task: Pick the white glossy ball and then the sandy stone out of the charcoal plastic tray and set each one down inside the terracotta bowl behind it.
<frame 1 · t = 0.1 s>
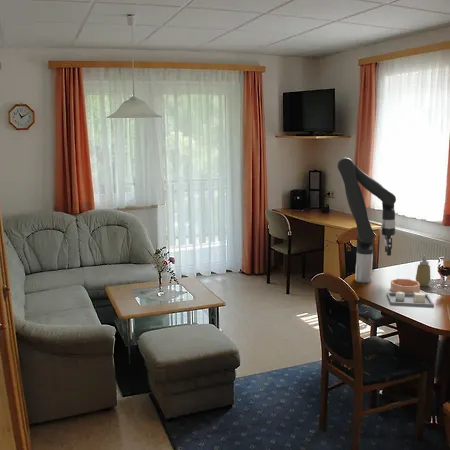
hand: (387, 253, 299), 17 cm above the table, tool pointing down, fingers open, 8 cm apart
squeeze bottle: (422, 285, 295), on the table
bowl: (404, 291, 284), on the table
sandy stone: (419, 301, 266), point 1 cm above the table, touching parts tray
parts tray: (409, 301, 267), on the table
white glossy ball: (399, 300, 268), point 1 cm above the table, touching parts tray
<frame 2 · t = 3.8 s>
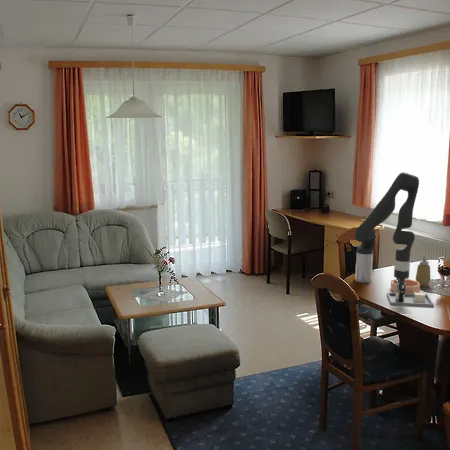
hand: (400, 299, 268), 1 cm above the table, tool pointing down, fingers closed on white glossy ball, 4 cm apart
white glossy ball: (399, 300, 268), point 1 cm above the table, touching gripper, parts tray
everything else where it was.
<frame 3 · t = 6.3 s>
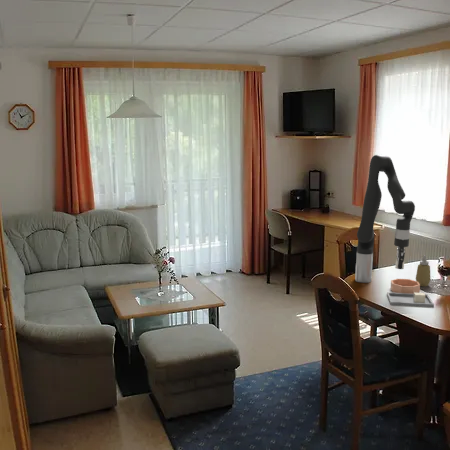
hand: (399, 267, 278), 15 cm above the table, tool pointing down, fingers closed on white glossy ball, 4 cm apart
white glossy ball: (399, 268, 278), point 14 cm above the table, touching gripper
everything else where it was.
when the fingers open (3 cm above the table, at t = 9.0 s): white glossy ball drops 2 cm, resting on bowl.
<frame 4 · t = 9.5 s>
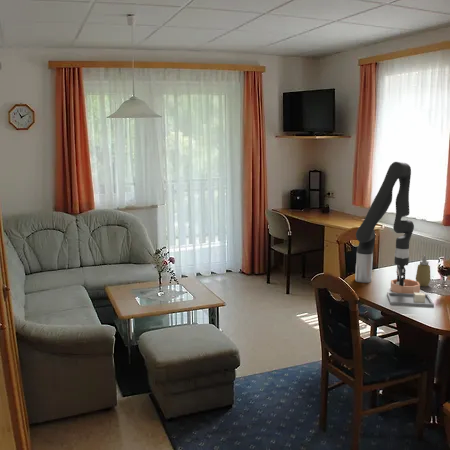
hand: (400, 283, 284), 4 cm above the table, tool pointing down, fingers open, 8 cm apart
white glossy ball: (399, 289, 285), point 1 cm above the table, touching bowl
everything else where it was.
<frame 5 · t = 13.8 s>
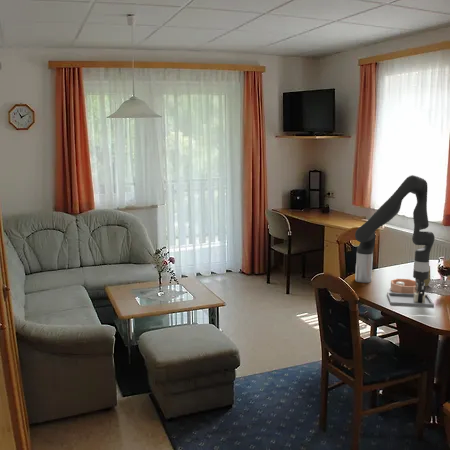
hand: (419, 300, 266), 1 cm above the table, tool pointing down, fingers closed on sandy stone, 4 cm apart
sandy stone: (419, 301, 266), point 1 cm above the table, touching gripper, parts tray
everything else where it was.
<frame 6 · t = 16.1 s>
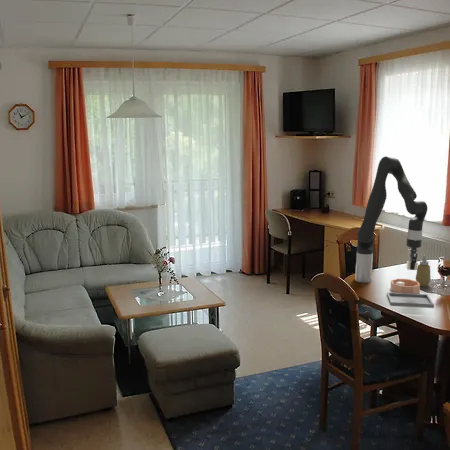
hand: (411, 268, 277), 15 cm above the table, tool pointing down, fingers closed on sandy stone, 4 cm apart
sandy stone: (411, 268, 277), point 14 cm above the table, touching gripper
everything else where it was.
when the fingers open (3 cm above the table, at t = 18.7 s): sandy stone drops 2 cm, resting on bowl.
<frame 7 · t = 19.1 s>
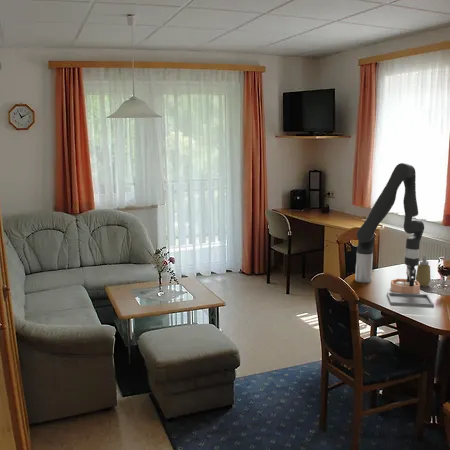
hand: (410, 284, 283), 4 cm above the table, tool pointing down, fingers open, 7 cm apart
sandy stone: (410, 290, 284), point 1 cm above the table, touching bowl
everything else where it was.
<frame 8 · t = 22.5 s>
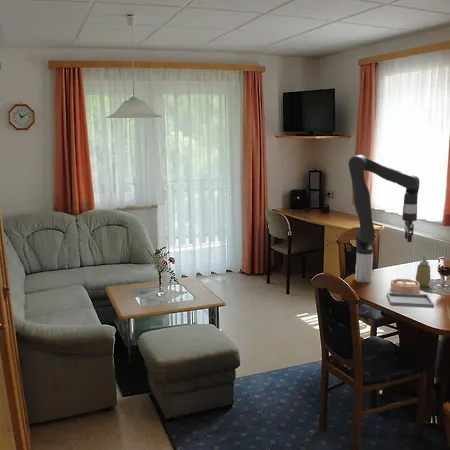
hand: (408, 240, 284), 28 cm above the table, tool pointing down, fingers open, 8 cm apart
nothing on the table moved.
at the end: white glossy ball inside the target area on the bowl (2.6 cm from its centre), point 0.8 cm above the bowl's base; sandy stone inside the target area on the bowl (2.8 cm from its centre), point 0.8 cm above the bowl's base; squeeze bottle moved 0.2 cm from its start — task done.
